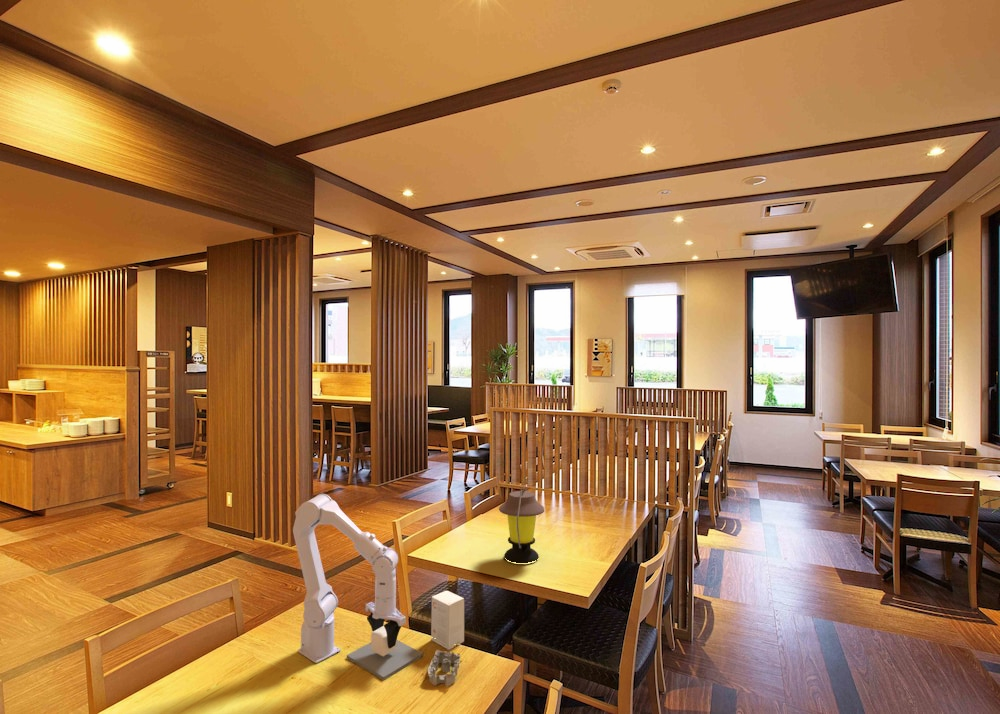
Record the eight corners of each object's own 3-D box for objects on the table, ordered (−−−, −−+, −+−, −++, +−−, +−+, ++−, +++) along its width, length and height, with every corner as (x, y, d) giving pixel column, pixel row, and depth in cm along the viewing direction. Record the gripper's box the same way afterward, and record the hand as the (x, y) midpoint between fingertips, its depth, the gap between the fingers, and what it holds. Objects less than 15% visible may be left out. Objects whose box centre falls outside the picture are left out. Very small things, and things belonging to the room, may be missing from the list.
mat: (346, 658, 143) (346, 655, 143) (386, 636, 154) (386, 634, 154) (383, 680, 134) (383, 677, 134) (423, 656, 145) (423, 653, 145)
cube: (371, 650, 143) (371, 632, 143) (384, 642, 147) (385, 624, 147) (383, 656, 140) (383, 638, 140) (396, 648, 144) (397, 630, 144)
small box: (464, 642, 152) (464, 598, 152) (448, 650, 147) (448, 605, 148) (446, 632, 158) (446, 589, 158) (430, 640, 153) (430, 596, 153)
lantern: (520, 544, 233) (520, 478, 233) (556, 554, 221) (556, 485, 221) (485, 561, 213) (486, 489, 213) (523, 573, 201) (524, 497, 201)
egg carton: (453, 688, 131) (453, 672, 131) (425, 686, 132) (425, 670, 132) (462, 663, 141) (462, 649, 141) (436, 661, 143) (436, 646, 143)
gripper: (357, 592, 145) (356, 640, 145) (392, 607, 137) (391, 658, 137) (376, 584, 151) (376, 630, 151) (411, 597, 142) (411, 646, 142)
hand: (385, 643), depth 144 cm, fingers closed on cube, 5 cm apart
